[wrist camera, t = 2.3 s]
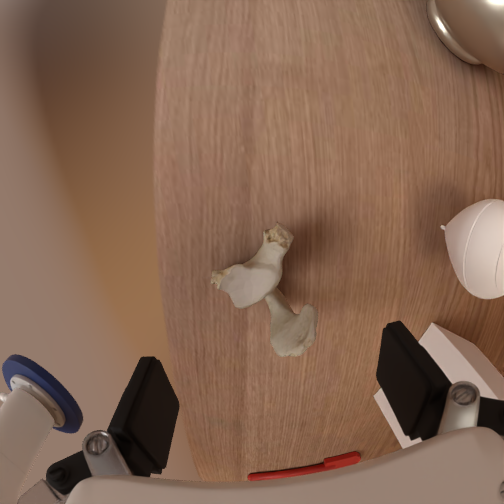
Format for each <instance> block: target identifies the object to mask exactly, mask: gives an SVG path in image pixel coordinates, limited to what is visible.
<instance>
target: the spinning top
mask: <svg viewBox="0 0 504 504" xmlns="http://www.w3.org/2000/svg"><path fill="white" fill-rule="evenodd" d="M441 229H443V230H445V240H446V245H447V250H448V254H449V258H450V261H451V263H452V266H453V268H454V271H455V273H456V275H457V277H458V279H459V281H460V282H461V284H462V285H463V286H464V288H465V289H466V290H468V291H469V292H470V293H471V294H472V295H474V296H476V297H479V298H482V299H494V298H498V297H501V296H503V295H504V201H502V200H498V199H486V200H482V201H479V202H477V203H475V204H473V205H471V206H469V207H467V208H465V209H464V210H462V211H461V212H460V213H459V214H457V215H456V216H455V217H454V218H453V219H452V220H451V221H450V222H449V223H448V224H447V225H446V226H444V225H441Z"/></svg>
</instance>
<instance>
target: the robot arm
mask: <svg viewBox="0 0 504 504" xmlns="http://www.w3.org/2000/svg"><path fill="white" fill-rule="evenodd" d="M376 377H377V381H378V383H379V385H380V386H381V388H382V390H383V392H384V394H385V396H386V398H387V400H388V402H389V404H390V406H391V408H392V410H393V412H394V414H395V416H396V419H397V421H398V423H399V425H400V427H401V429H402V431H403V433H404V435H405V436H409V438H410V440H411V441H412V440H415V439H417V438H421V440H422V442H419V443H417V444H414V445H412V446H409V447H406V448H404V449H401V450H398V451H395V452H392V453H389V454H386V455H383V456H380V457H377V458H374V459H371V460H368V461H364V462H361V463H357V464H353V465H350V466H346V467H341V468H337V469H333V470H328V471H323V472H318V473H313V474H307V475H301V476H295V477H287V478H279V479H269V480H257V481H239V482H201V481H183V480H170V479H159V478H151V477H150V475H151V473H154V474H161V473H162V469H164V468H165V467H166V465H167V460H168V455H169V451H170V447H171V442H172V437H173V433H174V428H175V424H176V419H177V416H178V411H179V401H178V398H177V396H176V394H175V393H174V390H173V388H172V386H171V384H170V382H169V380H168V377H167V375H166V373H165V371H164V368H163V366H162V364H161V362H160V360H157V359H156V358H155V357H141V358H140V360H139V362H138V364H137V367H136V368H135V371H134V373H133V375H132V377H131V379H130V381H129V384H128V386H127V387H126V389H125V391H124V393H123V395H122V397H121V400H120V402H119V404H118V406H117V409H116V411H115V413H114V415H113V418H112V420H111V422H110V425H109V427H108V429H107V432H106V431H103V430H97V431H93V432H91V433H90V434H88V435H87V436H86V437H85V438H84V441H83V443H82V449H83V450H82V451H80V452H78V453H76V454H73V455H71V456H69V457H67V458H65V459H63V460H60V461H58V462H56V463H54V464H52V465H51V466H50V467H49V468H48V470H47V473H46V480H43V479H41V480H40V481H39V482H38V483H37V484H35V485H34V486H33V487H32V488H30V489H29V490H28V491H27V492H25V493H24V494H23V495H22V496H21V497H20V498H19V495H20V492H21V490H22V487H23V485H24V483H25V480H26V478H27V476H28V474H29V472H30V470H31V468H32V466H33V464H34V462H35V460H36V458H37V456H38V454H39V452H40V450H41V448H42V446H43V444H44V442H45V440H46V438H47V436H48V434H49V433H50V430H51V429H52V427H62V426H63V425H64V423H65V421H66V418H65V415H64V413H63V411H62V409H61V408H60V406H59V405H58V404H57V402H56V401H55V400H54V399H53V398H52V397H51V396H50V395H49V394H48V393H47V392H46V391H45V390H44V389H43V388H42V387H40V386H39V385H38V384H37V383H35V382H34V381H32V380H31V379H29V378H27V377H25V376H23V375H19V374H16V375H14V376H13V377H12V378H11V380H10V384H11V388H12V392H11V393H10V394H6V393H4V392H1V393H0V399H1V400H2V401H4V403H3V404H2V406H1V408H0V504H504V400H498V399H492V398H487V397H482V396H480V391H479V389H478V387H477V386H476V385H475V384H473V383H471V382H468V381H459V382H456V383H454V384H452V383H451V382H450V380H449V379H448V378H447V376H446V375H445V374H444V372H443V371H442V370H441V368H440V367H439V366H438V364H437V363H436V362H435V361H434V359H433V358H432V357H431V355H430V354H429V353H428V352H427V350H426V349H425V348H424V347H423V346H422V345H420V344H419V342H418V341H417V340H416V339H415V337H414V336H413V335H412V334H411V333H410V331H409V330H408V329H407V328H406V327H405V325H404V324H403V323H402V322H401V321H396V322H392V323H388V324H387V325H386V328H384V329H383V333H382V340H381V347H380V354H379V361H378V367H377V372H376ZM18 498H19V499H18Z"/></svg>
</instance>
